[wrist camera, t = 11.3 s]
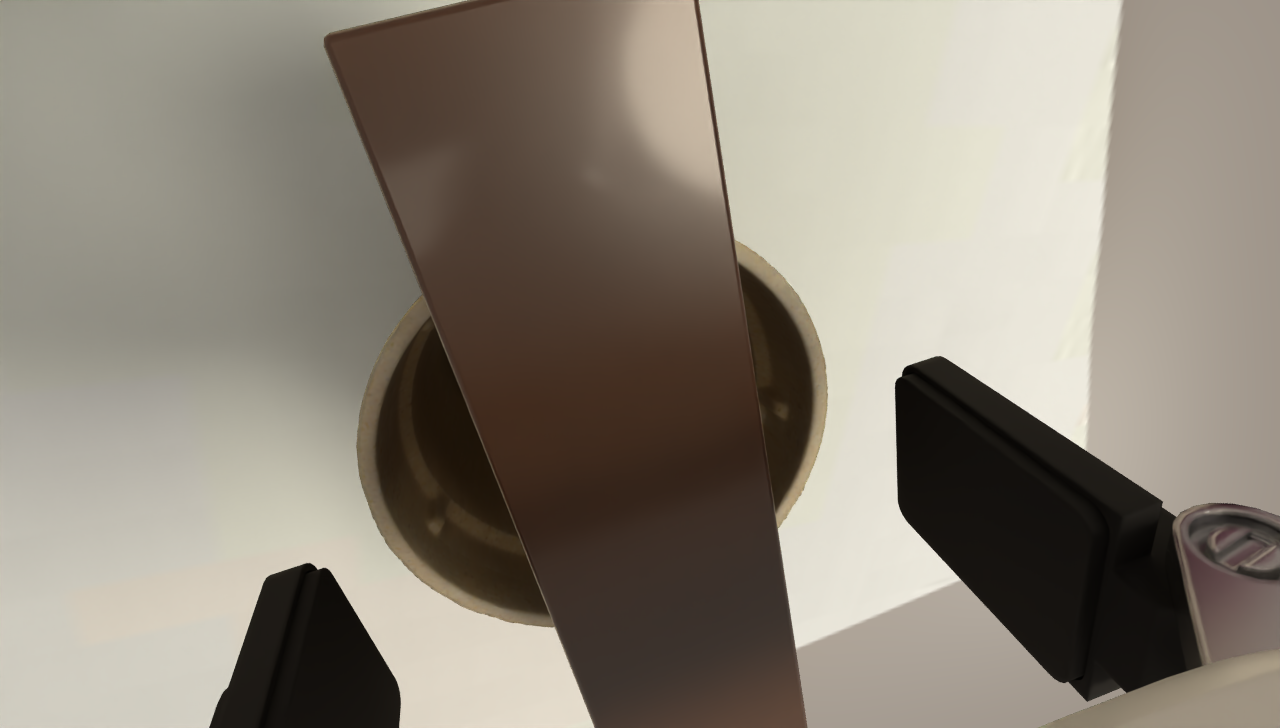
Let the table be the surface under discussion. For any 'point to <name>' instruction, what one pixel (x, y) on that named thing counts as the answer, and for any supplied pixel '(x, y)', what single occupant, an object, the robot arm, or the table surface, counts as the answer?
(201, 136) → the table surface
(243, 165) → the table surface
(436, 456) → the flower pot
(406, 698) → the table surface
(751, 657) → the brown wooden block
